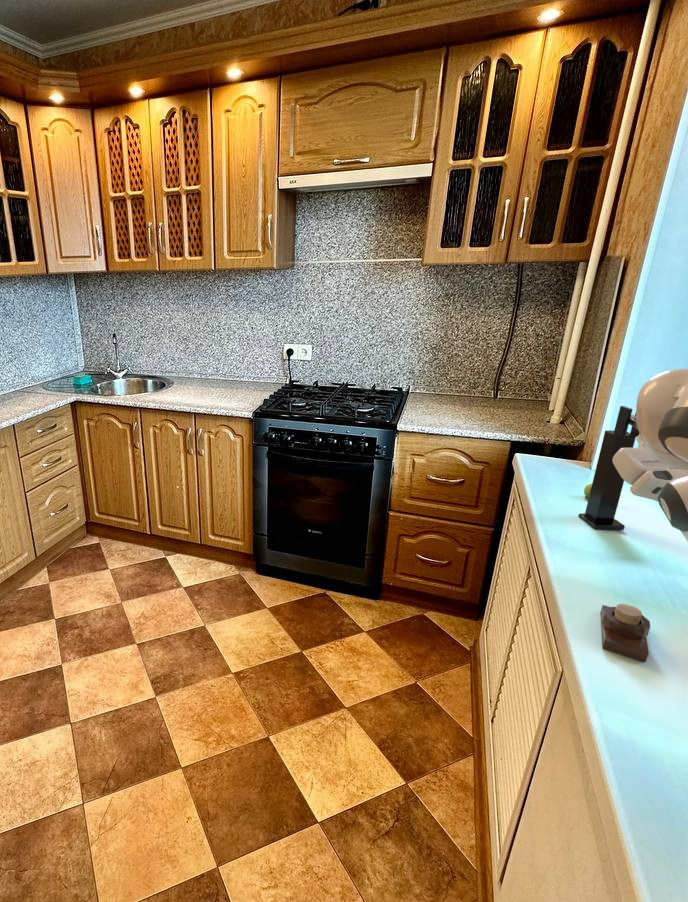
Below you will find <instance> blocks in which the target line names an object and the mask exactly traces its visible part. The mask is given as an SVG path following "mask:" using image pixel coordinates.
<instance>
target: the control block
mask: <svg viewBox="0 0 688 902" xmlns="http://www.w3.org/2000/svg"><path fill="white" fill-rule="evenodd" d="M615 609H616V606H609V605H606V604H605V605H604V604H602V605H601V608H600V611H599V614H600V630H601V631H600V632H601V633H600V636H601V649H602V650H605V651H608V652H611V653H614V654H616V655H620V656H623V657H627V658H630V659H633V660H637V661H641V662H644V663H647V659H648V656H649V647H648V641H647V637H648V636H649V633H650V631H651V622H650V621H651V620H650V619H648V618H647V617H645V615H643V614H642V616H641V619H640V622H639V624H638V625H629V624H626V623H623V622H621V621H619V620H617V619H616V618H614V613H615Z"/></svg>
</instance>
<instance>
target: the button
mask: <svg viewBox="0 0 688 902" xmlns="http://www.w3.org/2000/svg"><path fill="white" fill-rule="evenodd" d="M615 607H616V609H615V613H614V618H616V619H617V620H619V621H621V622H623V623H626V624H629V625H638V624H639V622H640V619H641V616H642V615H643V612H642V611H641V609H639V608H637V607H636V606H634V605H631V604H626V603H618V604H617V605H616V606H615Z"/></svg>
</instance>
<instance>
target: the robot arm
mask: <svg viewBox="0 0 688 902" xmlns="http://www.w3.org/2000/svg"><path fill="white" fill-rule="evenodd" d="M635 408H636V409H635V413H636V419H637V426H638V430H639V433H640V434H639V435H638V436H637V437H636V438H635V441H636V442H637V443H638V446H637V447H633V448H621V449H620V450H619V451H618V452H617V453H616V454H615V455H614V457H613V459H612V461H613V464H614V466H615V467H616V469H617V471H618V472H619V474H620V475H621V477H622V478H623V479H624V482H625V483H627V484H628V485H630V487H629V490H630V493H631V494H632V495H633V496H636V497H639V498H643V499H648V500H651V501H655V502H658V505H659V507H660V509H661V510H662V512H663V513H664V515H665V517H666V518H667V521H668V522H669V523H670V527H672V528H674V529H676V530H678V531H680V533H681V535H682V536H683V537H684V539H685V540H686V541H687V542H688V368H677V369H676V368H675V369H669V370H667V371H663V372H661V373H658V374H655V376H652V377H651V378H650V379H648V380H647V381H646V382H645V383H644V384H643V385H642V387H641V388H640V389H639V392H638V394H637V397H636V406H635Z"/></svg>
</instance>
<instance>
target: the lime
mask: <svg viewBox="0 0 688 902" xmlns="http://www.w3.org/2000/svg"><path fill="white" fill-rule="evenodd" d="M591 487H592V483H589V484H587V485H586V486H584V488H583V494H584V496H585V497H587V499H589V495H590V491H591Z"/></svg>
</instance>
